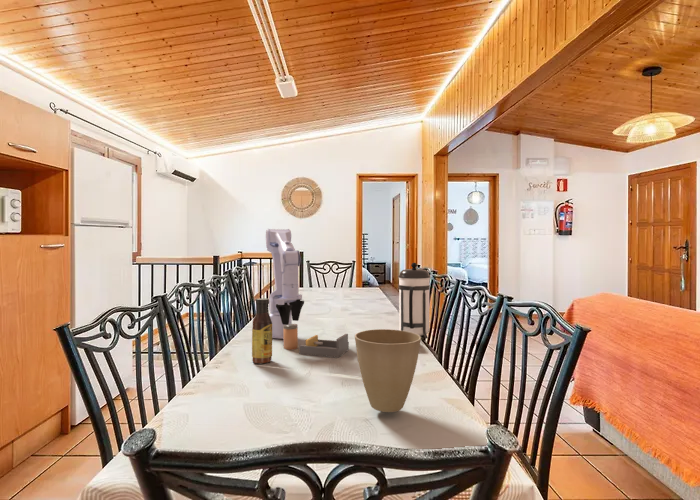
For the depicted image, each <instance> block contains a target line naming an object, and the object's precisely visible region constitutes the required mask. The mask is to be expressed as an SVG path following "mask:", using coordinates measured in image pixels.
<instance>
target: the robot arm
mask: <svg viewBox="0 0 700 500" xmlns="http://www.w3.org/2000/svg"><path fill="white" fill-rule="evenodd" d="M265 244H266V251H268V252H269V253H271V257H272V263H273V264H272V265H273V276H274V288H275V289H274V290H273V291H272V292H271V293H270V294H269V296H268V299H269V304H268V311H269V312H270V313H269V315H270V318H271V321H272V339H279V340H280V339H283V325H288V324H293V323H292V321H294V322H298V321H299V319H300V315H301V311H302V308H303V306H304V304H305V300H303V294H299V267H300V266H301V253H300V250H296V249H295V247H294V245H293V243H292V231H291V229H290V228H287V229H285V228H284V229H283V228H278V229H276V228H267V229H266V231H265Z"/></svg>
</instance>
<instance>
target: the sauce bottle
mask: <svg viewBox="0 0 700 500" xmlns="http://www.w3.org/2000/svg"><path fill="white" fill-rule="evenodd" d="M255 305H256V311H255V315H254V317H253V319H252V328H251V331H252V332H251V357H252V363H253V364H261V365H263V364H266V363H267V364H268V363H270V362H272V356H273V338H272V321H271V318H270V315H269V314H270V313H269V312H270V311H269V298H256V299H255Z"/></svg>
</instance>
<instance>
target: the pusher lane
mask: <svg viewBox="0 0 700 500" xmlns="http://www.w3.org/2000/svg"><path fill="white" fill-rule="evenodd" d="M318 342H323V345H317V346H316V347H315V346H306V345H301V344H300V345H298V346H299V347H298V348H299V349H298V350H299V355H306V356H316V357H317V356H318V357H324V358H326V357H327V358H336V359H337V358H340V357H341V356H342V355H344V354H345V353H346V352H348V351H349V350H350V349H349V348H350V346H349V345H350V343H349V334H348V333H344V334H342V335H341V336H339V337H338V338H336V340H330V339H329V340H328V339H319V338H318Z"/></svg>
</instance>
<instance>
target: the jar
mask: <svg viewBox="0 0 700 500" xmlns="http://www.w3.org/2000/svg"><path fill="white" fill-rule="evenodd" d="M298 328H299V327H298V324H297V323H292V324H288V325H283V349H284V350H286V351H287V350H289V351H293V350H297V349H298V348H299V347H298V346H299V344H298V343H299V341H298V339H299V338H298V337H299V336H298V334H299V333H298V331H299V330H298Z"/></svg>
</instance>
